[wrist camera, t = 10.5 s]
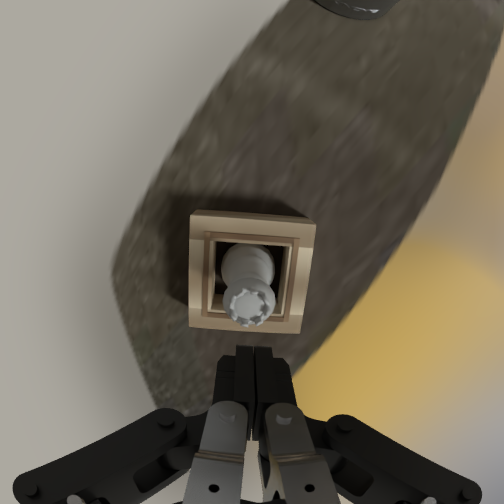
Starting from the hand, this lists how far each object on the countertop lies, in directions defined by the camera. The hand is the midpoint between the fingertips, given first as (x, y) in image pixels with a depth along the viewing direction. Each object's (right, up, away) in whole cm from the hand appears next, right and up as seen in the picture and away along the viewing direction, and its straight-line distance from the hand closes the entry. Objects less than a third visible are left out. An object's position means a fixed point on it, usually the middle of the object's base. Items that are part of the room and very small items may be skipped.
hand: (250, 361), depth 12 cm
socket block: (0, +4, +12) cm, 13 cm away
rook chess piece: (0, +4, +13) cm, 13 cm away
